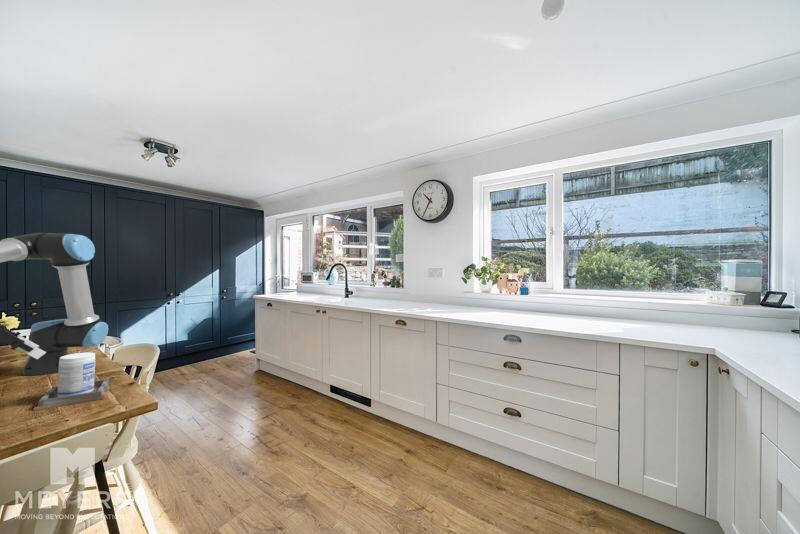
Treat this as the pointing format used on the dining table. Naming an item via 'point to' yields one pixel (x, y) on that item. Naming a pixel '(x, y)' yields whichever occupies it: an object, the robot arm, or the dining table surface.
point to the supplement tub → (76, 374)
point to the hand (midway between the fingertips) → (38, 352)
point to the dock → (73, 396)
